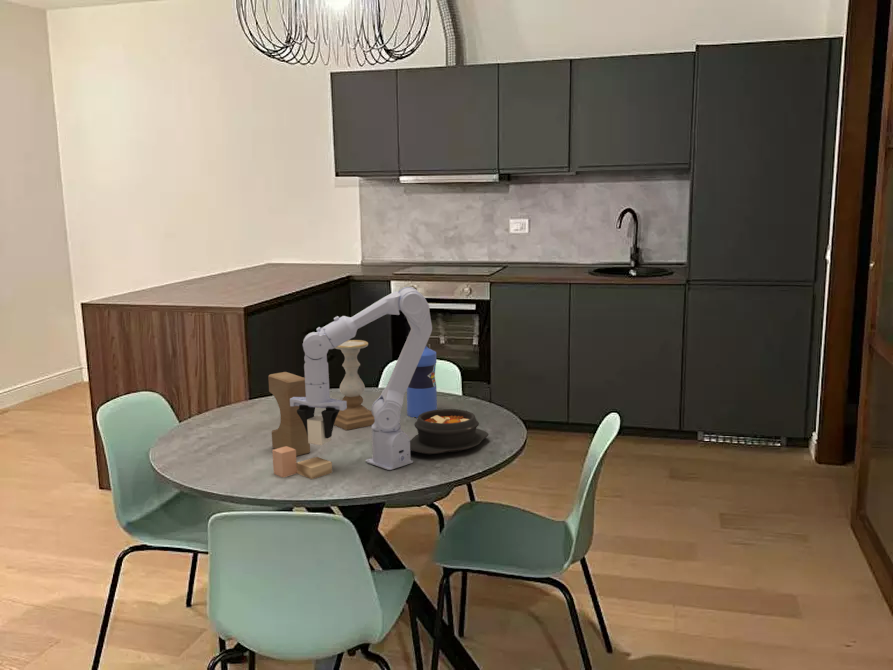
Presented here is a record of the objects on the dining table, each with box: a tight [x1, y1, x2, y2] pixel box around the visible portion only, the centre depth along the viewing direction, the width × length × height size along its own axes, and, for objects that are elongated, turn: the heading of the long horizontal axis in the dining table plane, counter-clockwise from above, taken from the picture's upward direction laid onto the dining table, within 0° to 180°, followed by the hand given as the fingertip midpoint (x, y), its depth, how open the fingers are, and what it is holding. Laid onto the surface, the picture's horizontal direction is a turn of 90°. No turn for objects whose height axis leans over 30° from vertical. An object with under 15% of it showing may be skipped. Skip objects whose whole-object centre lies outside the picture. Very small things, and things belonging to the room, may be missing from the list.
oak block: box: [296, 456, 333, 480], centre depth 195 cm, size 6×6×3 cm
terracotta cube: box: [272, 446, 297, 478], centre depth 195 cm, size 4×4×6 cm
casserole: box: [410, 408, 489, 455], centre depth 213 cm, size 25×19×8 cm
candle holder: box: [334, 339, 375, 431], centre depth 235 cm, size 11×11×24 cm
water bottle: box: [406, 342, 438, 419], centre depth 243 cm, size 9×9×25 cm
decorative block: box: [267, 371, 311, 457], centre depth 211 cm, size 11×6×20 cm, turn 38°
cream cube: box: [307, 415, 332, 446], centre depth 198 cm, size 4×4×6 cm
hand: (319, 436), depth 198 cm, fingers closed on cream cube, 4 cm apart
